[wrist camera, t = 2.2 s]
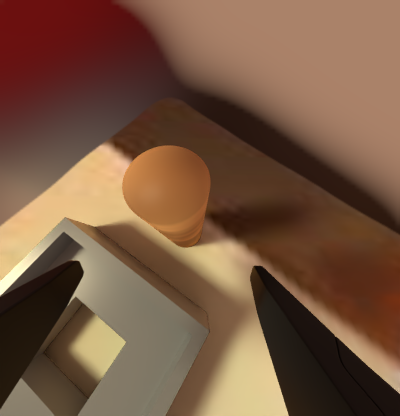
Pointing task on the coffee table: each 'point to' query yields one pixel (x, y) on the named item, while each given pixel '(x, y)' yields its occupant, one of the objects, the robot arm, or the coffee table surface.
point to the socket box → (117, 320)
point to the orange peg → (169, 192)
